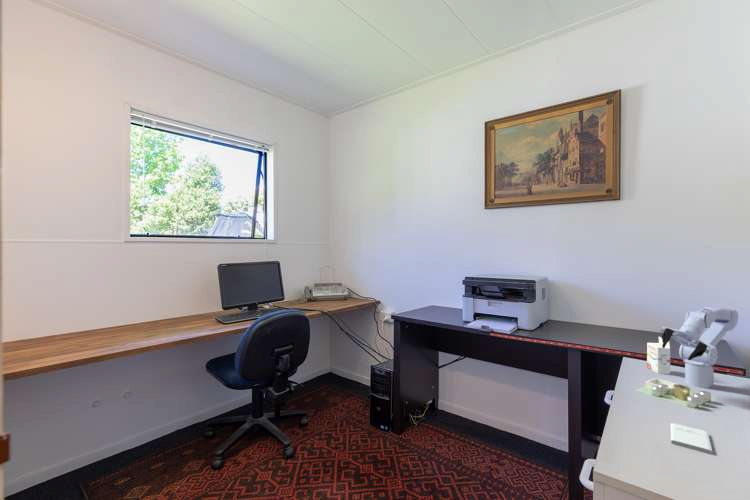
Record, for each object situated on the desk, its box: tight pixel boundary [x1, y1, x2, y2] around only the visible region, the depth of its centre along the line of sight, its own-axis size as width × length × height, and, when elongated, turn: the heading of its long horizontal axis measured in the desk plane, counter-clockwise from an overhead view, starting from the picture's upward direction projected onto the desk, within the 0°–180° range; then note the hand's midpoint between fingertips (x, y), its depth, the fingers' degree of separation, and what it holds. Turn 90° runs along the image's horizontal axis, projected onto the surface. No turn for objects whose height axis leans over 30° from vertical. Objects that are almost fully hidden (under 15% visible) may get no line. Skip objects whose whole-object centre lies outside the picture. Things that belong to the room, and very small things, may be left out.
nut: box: [673, 383, 691, 400], centre depth 123 cm, size 4×5×4 cm
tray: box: [644, 377, 677, 394], centre depth 132 cm, size 8×8×2 cm
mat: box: [634, 385, 719, 411], centre depth 126 cm, size 17×18×1 cm
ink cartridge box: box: [646, 336, 671, 375], centre depth 151 cm, size 9×5×15 cm, turn 168°
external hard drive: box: [670, 422, 713, 455], centre depth 98 cm, size 2×8×12 cm
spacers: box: [652, 384, 712, 410], centre depth 123 cm, size 12×13×3 cm
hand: (676, 351), depth 125 cm, fingers open, 7 cm apart
